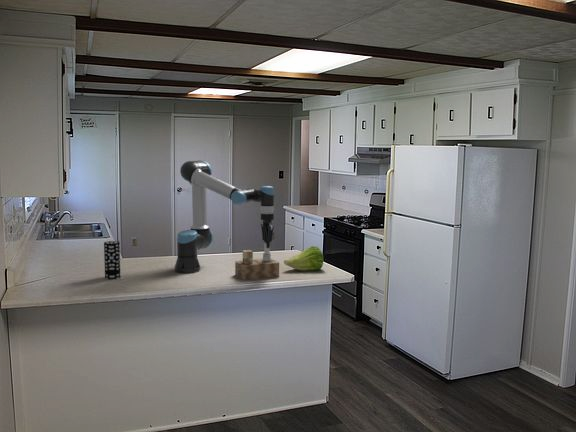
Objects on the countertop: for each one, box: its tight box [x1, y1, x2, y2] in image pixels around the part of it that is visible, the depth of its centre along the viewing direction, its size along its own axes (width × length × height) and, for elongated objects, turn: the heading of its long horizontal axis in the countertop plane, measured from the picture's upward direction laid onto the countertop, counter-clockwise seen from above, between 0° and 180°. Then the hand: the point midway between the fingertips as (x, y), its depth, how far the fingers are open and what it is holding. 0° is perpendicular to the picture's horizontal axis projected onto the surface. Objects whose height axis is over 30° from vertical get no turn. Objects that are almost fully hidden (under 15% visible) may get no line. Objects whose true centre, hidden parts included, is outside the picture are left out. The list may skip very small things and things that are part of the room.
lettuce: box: [283, 245, 325, 272], centre depth 325 cm, size 14×24×15 cm
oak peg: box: [242, 249, 254, 264], centre depth 306 cm, size 4×4×8 cm
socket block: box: [234, 258, 280, 281], centre depth 310 cm, size 22×13×8 cm, turn 117°
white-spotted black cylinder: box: [103, 240, 122, 280], centre depth 299 cm, size 8×8×20 cm
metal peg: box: [262, 252, 272, 262], centre depth 312 cm, size 4×4×8 cm
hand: (266, 253), depth 311 cm, fingers closed
